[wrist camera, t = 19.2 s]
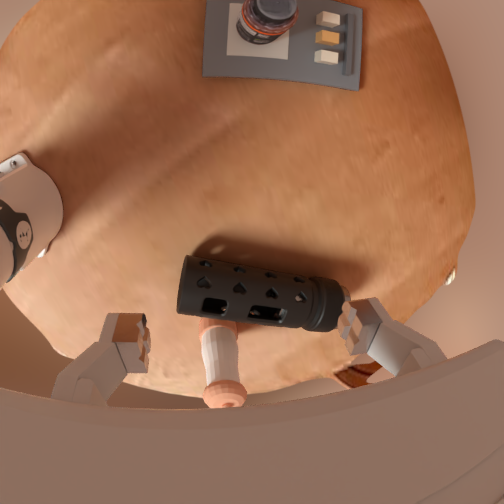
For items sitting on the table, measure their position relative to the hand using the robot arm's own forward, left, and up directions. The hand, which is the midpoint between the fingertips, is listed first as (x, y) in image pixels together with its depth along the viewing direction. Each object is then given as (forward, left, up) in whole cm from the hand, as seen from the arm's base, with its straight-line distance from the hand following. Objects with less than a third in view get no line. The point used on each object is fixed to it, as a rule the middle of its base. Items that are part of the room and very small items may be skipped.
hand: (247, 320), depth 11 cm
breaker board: (+9, +18, -33) cm, 39 cm away
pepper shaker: (0, -33, -33) cm, 47 cm away
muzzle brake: (+8, -22, -34) cm, 41 cm away
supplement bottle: (+5, +19, -31) cm, 36 cm away
